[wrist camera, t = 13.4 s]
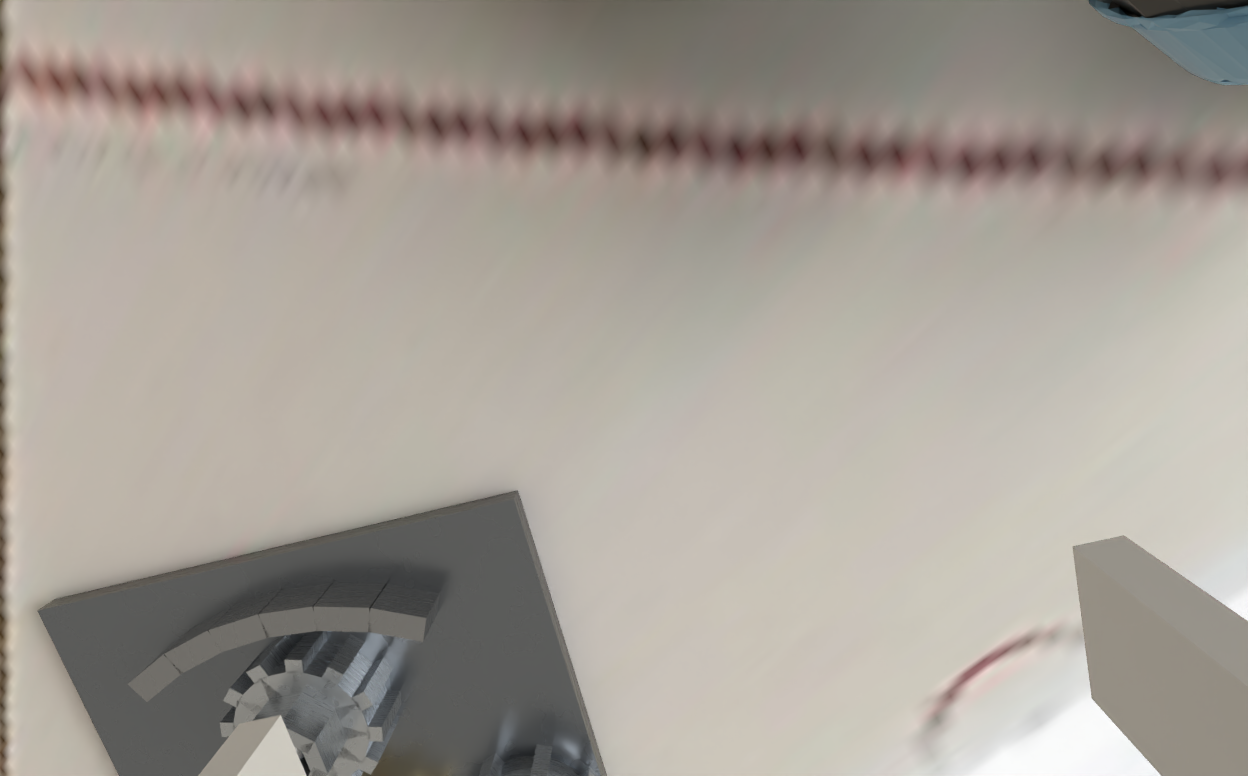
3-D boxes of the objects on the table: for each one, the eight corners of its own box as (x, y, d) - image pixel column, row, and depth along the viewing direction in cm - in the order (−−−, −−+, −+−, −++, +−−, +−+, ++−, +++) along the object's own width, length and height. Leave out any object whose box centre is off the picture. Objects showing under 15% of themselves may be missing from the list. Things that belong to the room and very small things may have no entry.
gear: (227, 645, 41) (165, 711, 36) (371, 613, 41) (329, 675, 35) (282, 772, 43) (230, 851, 38) (420, 743, 42) (387, 820, 37)
